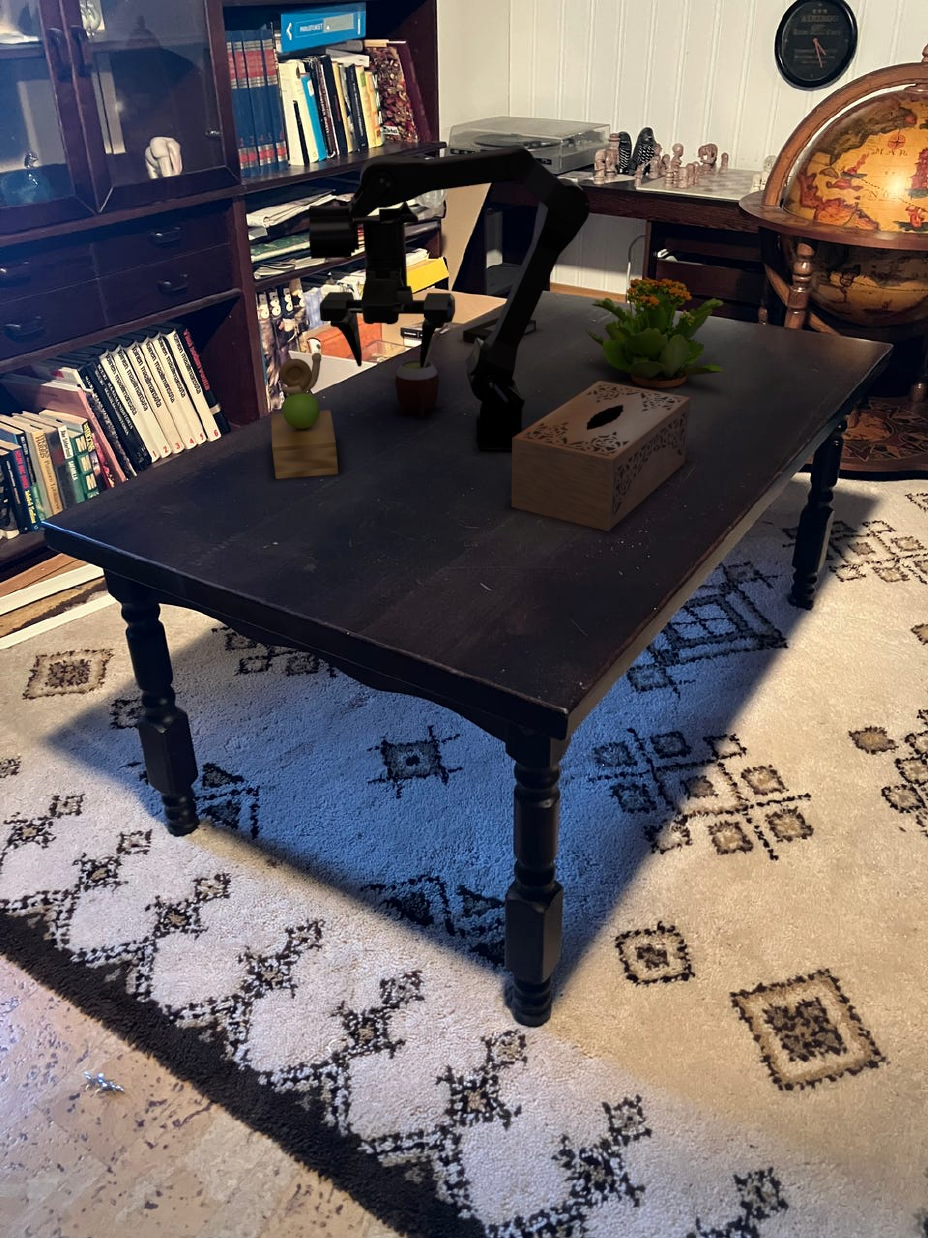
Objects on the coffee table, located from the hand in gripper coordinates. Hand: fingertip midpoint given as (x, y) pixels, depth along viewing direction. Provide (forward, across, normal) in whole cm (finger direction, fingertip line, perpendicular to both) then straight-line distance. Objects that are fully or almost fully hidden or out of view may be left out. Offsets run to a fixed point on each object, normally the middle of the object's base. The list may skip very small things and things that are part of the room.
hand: (391, 366), depth 153 cm
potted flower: (+13, +42, +33) cm, 55 cm away
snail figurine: (+8, -12, -4) cm, 16 cm away
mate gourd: (+13, +2, +16) cm, 21 cm away
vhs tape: (+13, +13, +59) cm, 61 cm away
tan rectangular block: (+13, -13, -4) cm, 19 cm away
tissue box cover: (+13, +31, -11) cm, 35 cm away
